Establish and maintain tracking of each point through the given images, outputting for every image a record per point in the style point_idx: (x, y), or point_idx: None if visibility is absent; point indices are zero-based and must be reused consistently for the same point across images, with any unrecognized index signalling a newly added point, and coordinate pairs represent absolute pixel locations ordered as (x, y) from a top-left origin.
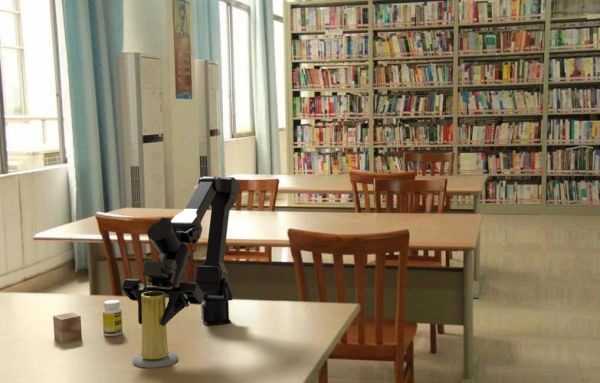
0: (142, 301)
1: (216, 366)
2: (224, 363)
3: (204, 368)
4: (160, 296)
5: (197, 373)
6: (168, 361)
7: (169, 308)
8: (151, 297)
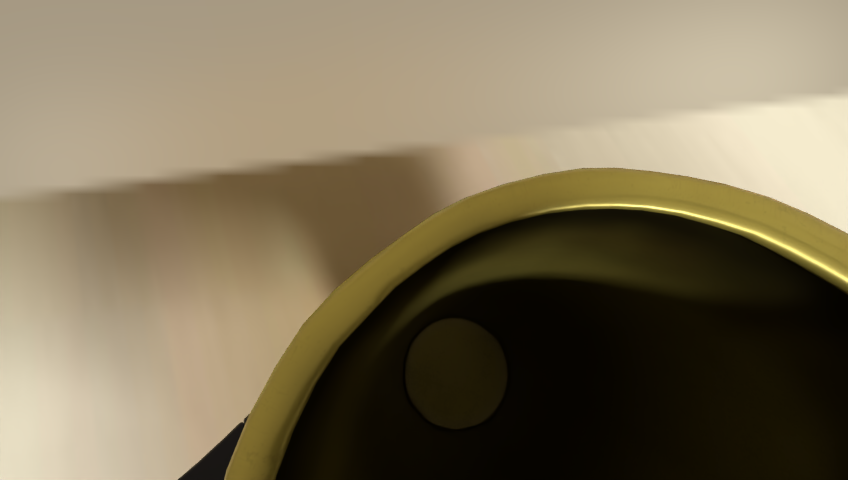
0: (747, 308)
1: (122, 323)
2: (87, 373)
3: (176, 287)
4: (283, 372)
5: (196, 220)
6: None
7: (237, 438)
8: (520, 187)
